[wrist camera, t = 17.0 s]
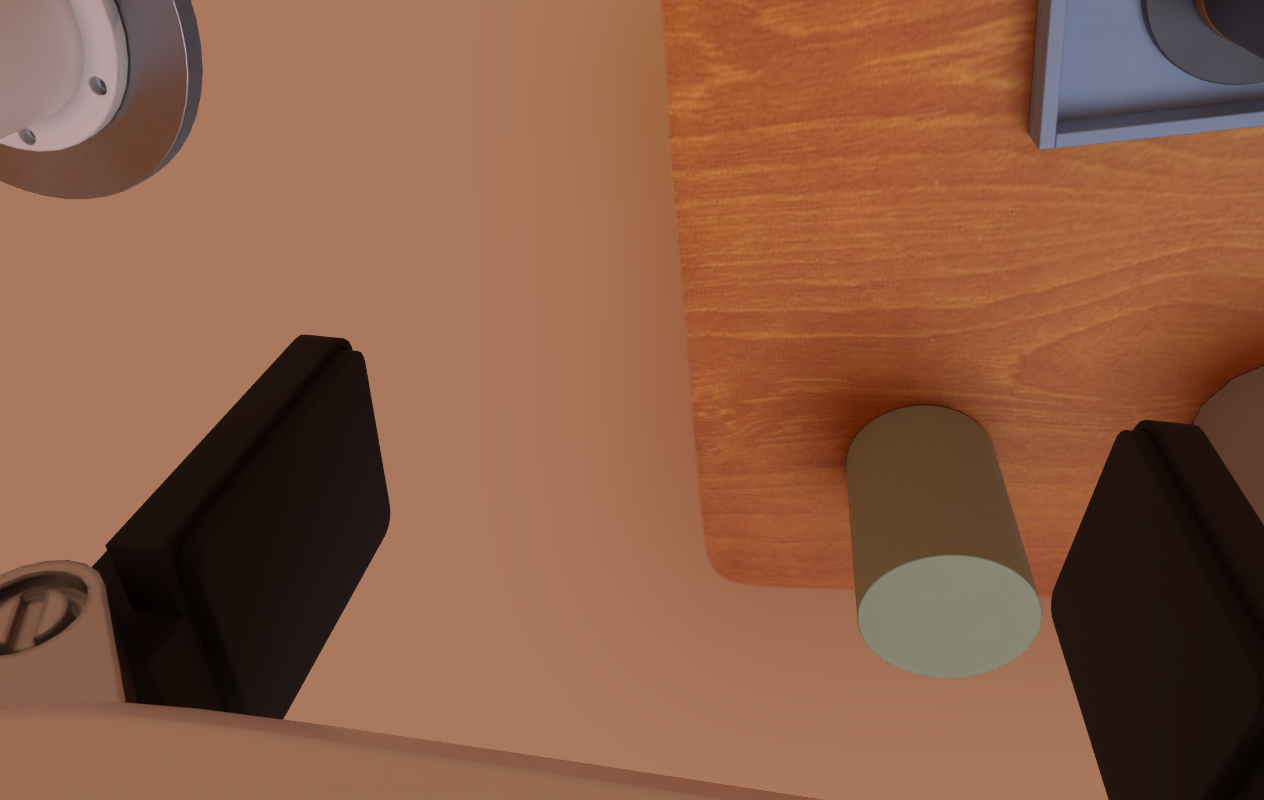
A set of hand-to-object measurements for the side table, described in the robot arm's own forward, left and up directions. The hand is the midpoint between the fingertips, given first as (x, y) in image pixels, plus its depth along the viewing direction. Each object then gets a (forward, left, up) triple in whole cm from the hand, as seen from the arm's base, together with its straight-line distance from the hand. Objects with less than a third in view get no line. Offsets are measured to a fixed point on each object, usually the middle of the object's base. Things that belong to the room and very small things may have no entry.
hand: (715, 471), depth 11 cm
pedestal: (+20, -14, -30) cm, 39 cm away
